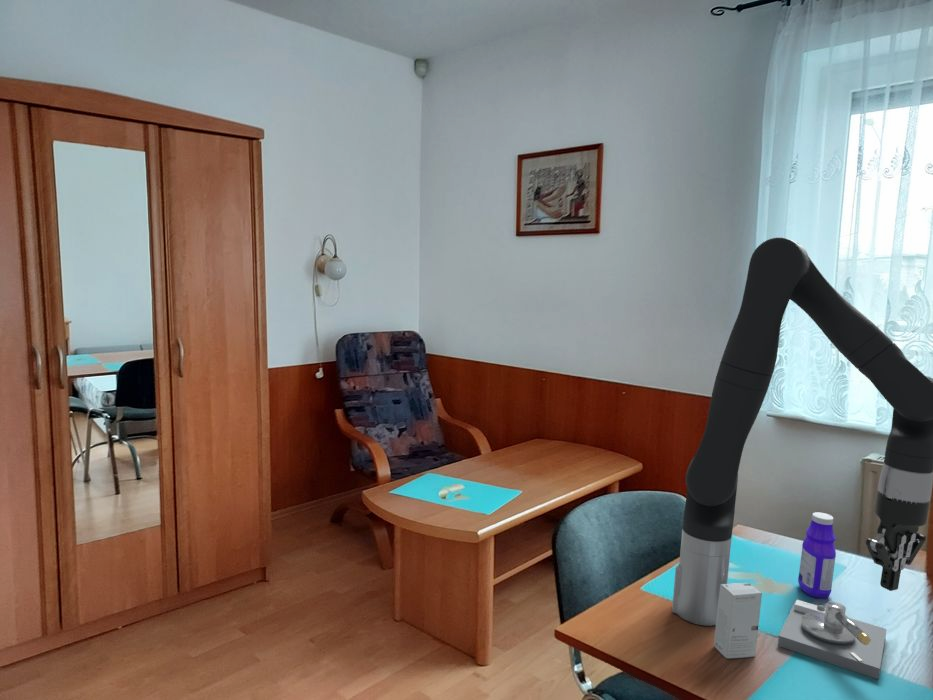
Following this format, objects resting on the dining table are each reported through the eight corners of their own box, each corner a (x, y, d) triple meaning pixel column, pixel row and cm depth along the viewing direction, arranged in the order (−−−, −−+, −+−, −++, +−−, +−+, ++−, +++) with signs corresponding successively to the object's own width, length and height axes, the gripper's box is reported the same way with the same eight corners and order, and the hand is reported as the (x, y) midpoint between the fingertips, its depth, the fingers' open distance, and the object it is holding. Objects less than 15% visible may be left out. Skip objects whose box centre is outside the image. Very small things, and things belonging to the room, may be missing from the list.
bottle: (835, 600, 142) (845, 522, 140) (809, 599, 142) (818, 521, 140) (818, 584, 149) (827, 509, 147) (792, 583, 149) (801, 508, 147)
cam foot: (792, 617, 130) (795, 589, 129) (838, 618, 130) (841, 590, 130) (838, 667, 114) (842, 635, 114) (890, 668, 114) (894, 637, 114)
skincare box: (726, 660, 119) (733, 595, 117) (712, 645, 123) (718, 583, 122) (757, 656, 121) (764, 593, 119) (741, 642, 125) (748, 581, 123)
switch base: (777, 645, 124) (780, 625, 124) (793, 610, 137) (795, 592, 137) (878, 679, 115) (881, 657, 115) (885, 638, 128) (887, 619, 128)
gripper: (906, 481, 120) (892, 573, 122) (857, 488, 114) (843, 583, 117) (951, 496, 113) (934, 592, 116) (900, 504, 108) (884, 605, 110)
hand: (888, 588), depth 116 cm, fingers closed
